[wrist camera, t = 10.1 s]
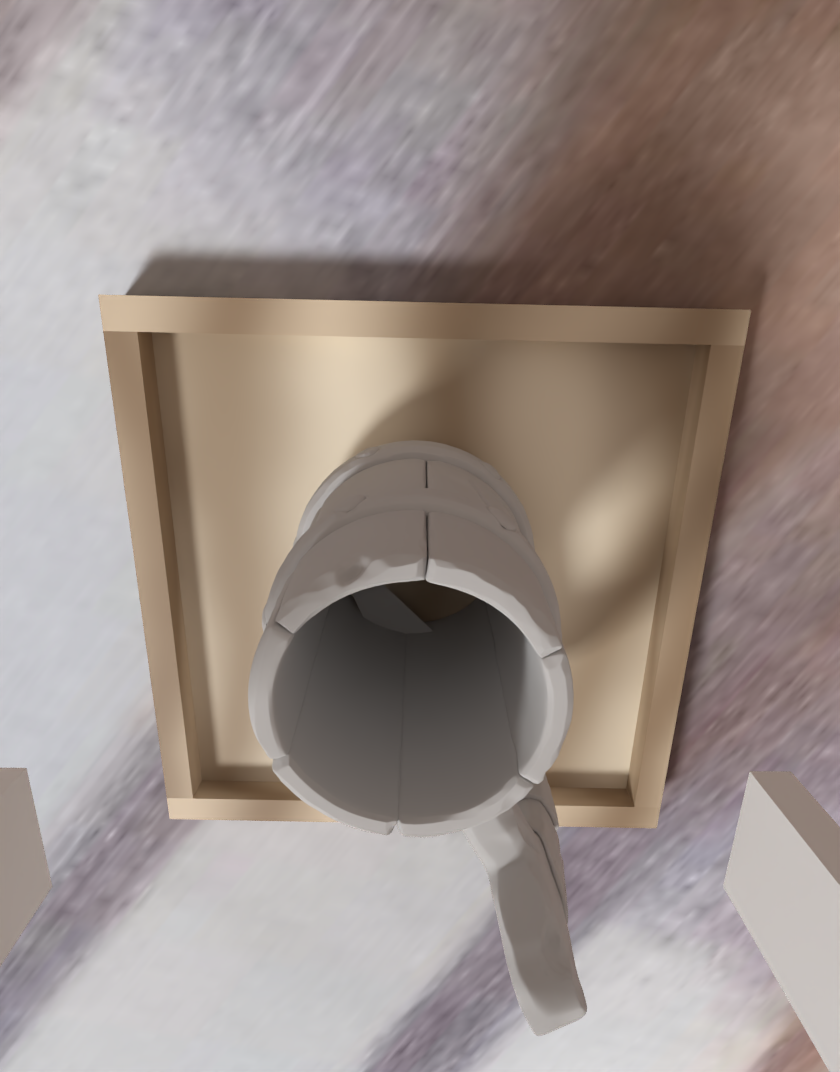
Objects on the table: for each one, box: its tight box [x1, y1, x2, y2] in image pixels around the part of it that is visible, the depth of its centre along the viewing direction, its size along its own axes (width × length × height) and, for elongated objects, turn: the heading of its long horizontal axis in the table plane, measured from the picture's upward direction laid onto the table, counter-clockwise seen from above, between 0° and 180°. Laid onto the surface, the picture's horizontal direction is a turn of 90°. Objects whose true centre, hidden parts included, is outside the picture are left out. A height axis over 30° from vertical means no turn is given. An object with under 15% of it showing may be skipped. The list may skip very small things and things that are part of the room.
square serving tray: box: [98, 295, 751, 828], centre depth 21 cm, size 19×19×2 cm
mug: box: [248, 440, 587, 1036], centre depth 16 cm, size 8×12×12 cm, turn 28°
